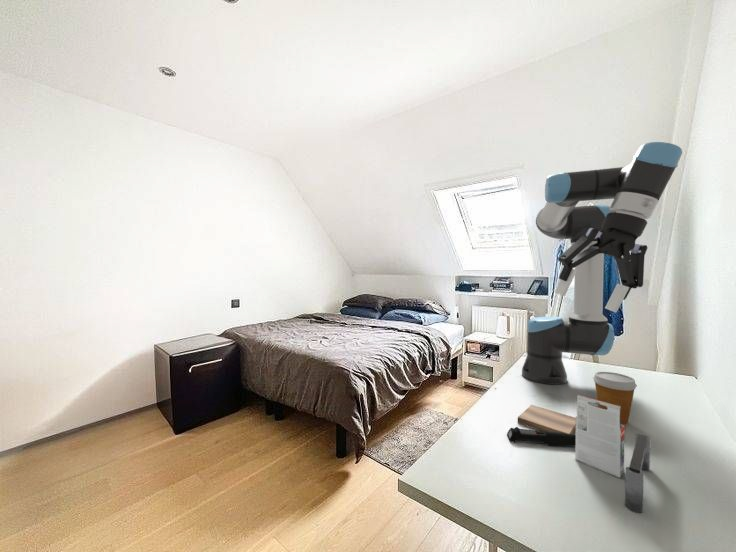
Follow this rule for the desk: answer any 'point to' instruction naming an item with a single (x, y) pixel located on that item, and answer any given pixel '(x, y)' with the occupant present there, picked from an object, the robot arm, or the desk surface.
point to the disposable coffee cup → (615, 392)
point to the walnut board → (547, 420)
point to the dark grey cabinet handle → (637, 473)
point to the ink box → (600, 436)
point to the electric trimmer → (541, 437)
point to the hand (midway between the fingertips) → (585, 302)
